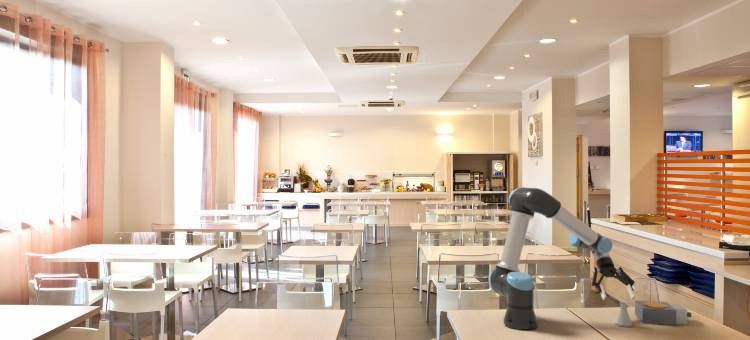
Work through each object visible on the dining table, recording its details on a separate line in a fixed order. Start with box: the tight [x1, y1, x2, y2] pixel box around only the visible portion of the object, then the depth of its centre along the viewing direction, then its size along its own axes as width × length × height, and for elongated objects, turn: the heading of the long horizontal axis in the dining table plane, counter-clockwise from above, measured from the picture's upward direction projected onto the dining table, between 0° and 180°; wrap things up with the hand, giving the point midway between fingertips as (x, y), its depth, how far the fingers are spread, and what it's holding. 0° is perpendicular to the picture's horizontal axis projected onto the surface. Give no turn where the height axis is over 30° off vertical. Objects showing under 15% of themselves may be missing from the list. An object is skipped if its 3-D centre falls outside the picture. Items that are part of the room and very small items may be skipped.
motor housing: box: [634, 300, 692, 326], centre depth 231 cm, size 22×14×7 cm, turn 75°
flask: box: [615, 302, 633, 328], centre depth 225 cm, size 7×7×10 cm
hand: (618, 298), depth 231 cm, fingers open, 13 cm apart
